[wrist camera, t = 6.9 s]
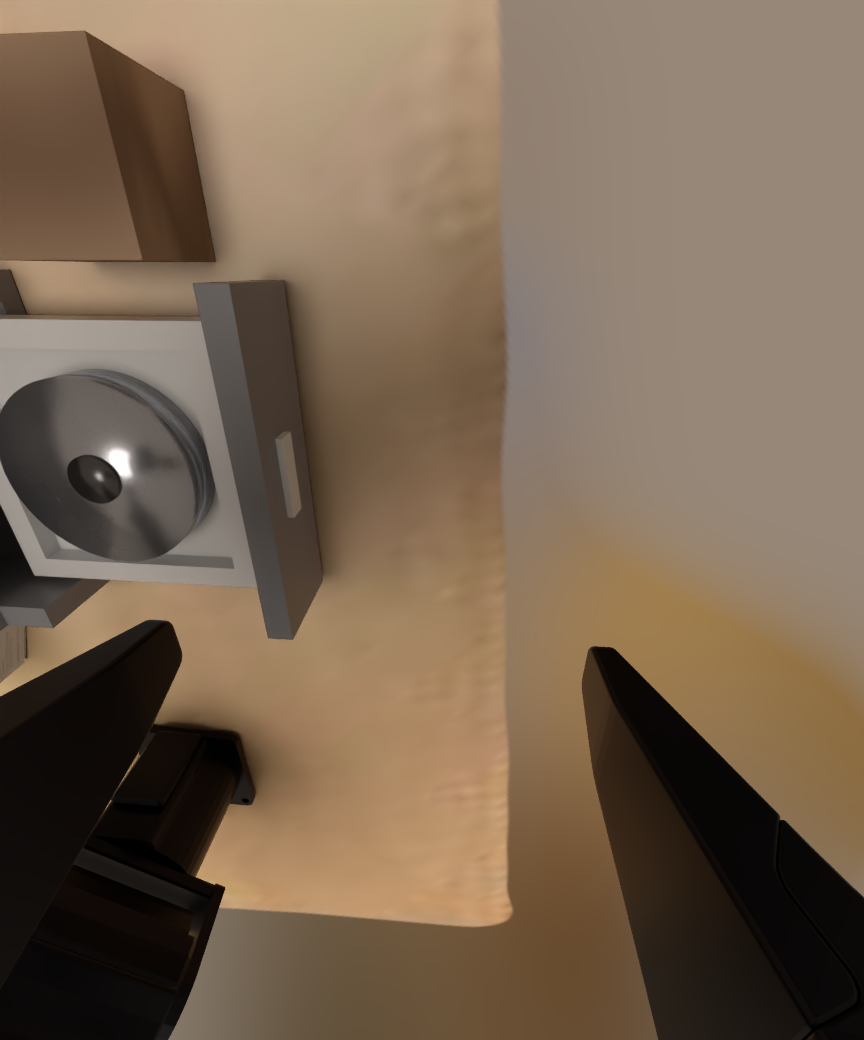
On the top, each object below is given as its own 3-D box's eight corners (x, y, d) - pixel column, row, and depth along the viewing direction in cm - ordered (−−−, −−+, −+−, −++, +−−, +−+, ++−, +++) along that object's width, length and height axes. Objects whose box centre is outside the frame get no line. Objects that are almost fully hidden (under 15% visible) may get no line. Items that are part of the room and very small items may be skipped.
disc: (231, 544, 20) (209, 568, 18) (73, 536, 20) (38, 559, 18) (191, 370, 16) (160, 381, 15) (3, 366, 17) (-46, 376, 15)
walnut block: (215, 262, 16) (142, 259, 13) (92, 262, 17) (-13, 259, 13) (183, 90, 14) (84, 31, 11) (43, 94, 14) (-98, 37, 11)
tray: (328, 580, 22) (299, 640, 18) (83, 567, 23) (10, 621, 19) (291, 280, 16) (237, 283, 12) (-38, 278, 17) (-173, 281, 13)
